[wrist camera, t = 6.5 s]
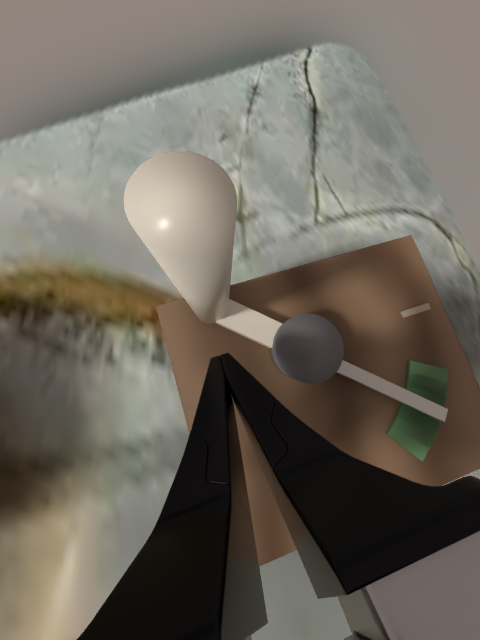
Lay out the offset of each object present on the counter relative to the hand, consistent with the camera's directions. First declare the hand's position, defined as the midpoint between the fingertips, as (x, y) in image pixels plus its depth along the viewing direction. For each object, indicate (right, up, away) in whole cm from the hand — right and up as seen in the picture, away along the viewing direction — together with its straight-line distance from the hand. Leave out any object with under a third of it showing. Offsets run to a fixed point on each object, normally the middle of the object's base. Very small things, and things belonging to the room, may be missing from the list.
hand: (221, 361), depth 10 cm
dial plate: (+8, -3, +7) cm, 11 cm away
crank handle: (+6, -1, +6) cm, 9 cm away
